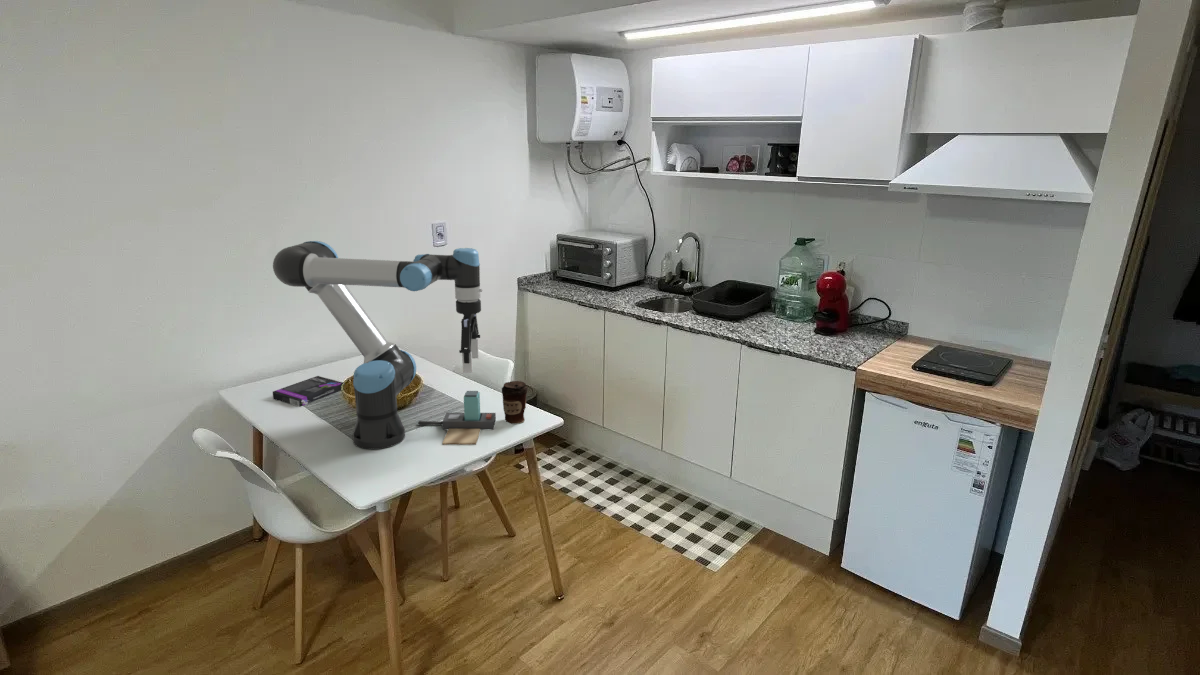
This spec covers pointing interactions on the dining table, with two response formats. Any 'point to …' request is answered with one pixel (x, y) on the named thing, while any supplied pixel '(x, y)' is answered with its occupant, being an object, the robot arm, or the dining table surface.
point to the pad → (462, 436)
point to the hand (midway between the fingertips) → (471, 365)
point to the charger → (472, 406)
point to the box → (307, 391)
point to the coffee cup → (514, 401)
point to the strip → (464, 422)
